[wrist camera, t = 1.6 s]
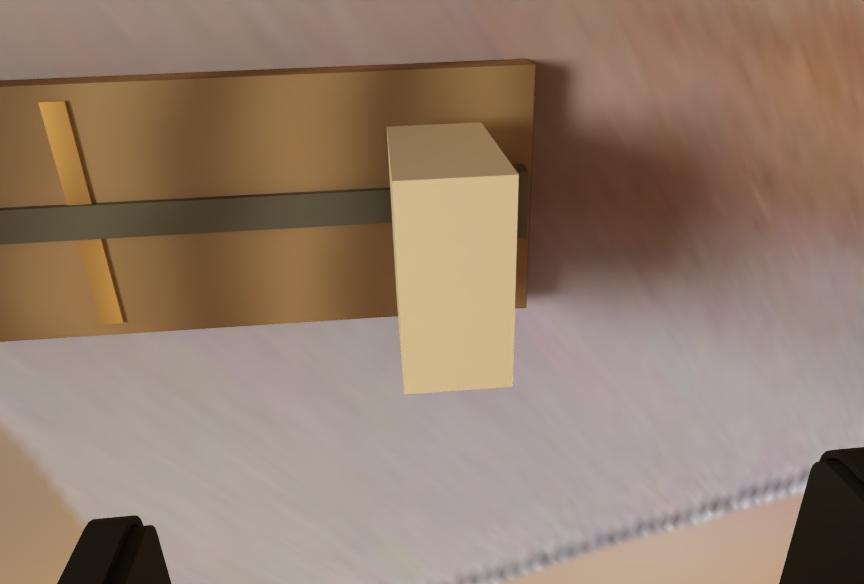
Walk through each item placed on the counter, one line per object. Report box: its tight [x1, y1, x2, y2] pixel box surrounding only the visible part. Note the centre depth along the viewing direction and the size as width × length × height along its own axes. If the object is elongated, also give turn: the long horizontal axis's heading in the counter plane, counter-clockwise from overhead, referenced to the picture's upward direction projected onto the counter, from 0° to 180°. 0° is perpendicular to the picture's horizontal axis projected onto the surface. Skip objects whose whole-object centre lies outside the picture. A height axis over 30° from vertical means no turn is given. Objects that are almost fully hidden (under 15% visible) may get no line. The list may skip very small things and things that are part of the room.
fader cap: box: [387, 122, 519, 394], centre depth 20 cm, size 3×6×7 cm, turn 2°
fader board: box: [0, 59, 535, 342], centre depth 23 cm, size 22×9×2 cm, turn 92°
